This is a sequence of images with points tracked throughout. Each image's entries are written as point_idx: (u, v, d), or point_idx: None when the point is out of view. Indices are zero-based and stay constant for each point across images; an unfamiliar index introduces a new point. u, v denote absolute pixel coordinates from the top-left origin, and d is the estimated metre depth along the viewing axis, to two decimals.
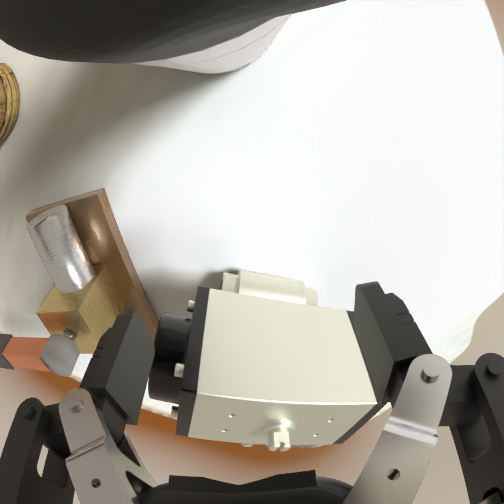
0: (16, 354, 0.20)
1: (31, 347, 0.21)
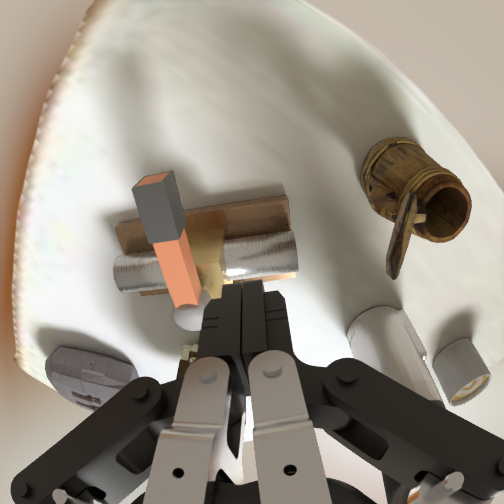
0: (186, 268, 0.23)
1: (194, 278, 0.25)
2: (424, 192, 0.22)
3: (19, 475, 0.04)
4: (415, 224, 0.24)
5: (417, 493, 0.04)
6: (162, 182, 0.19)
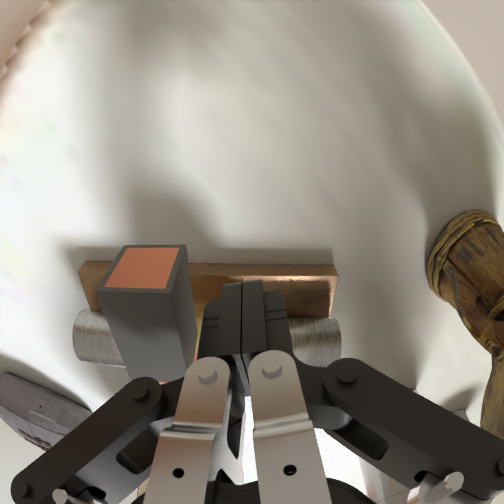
0: None
1: None
2: None
3: (19, 475, 0.04)
4: None
5: (417, 493, 0.04)
6: (167, 294, 0.08)
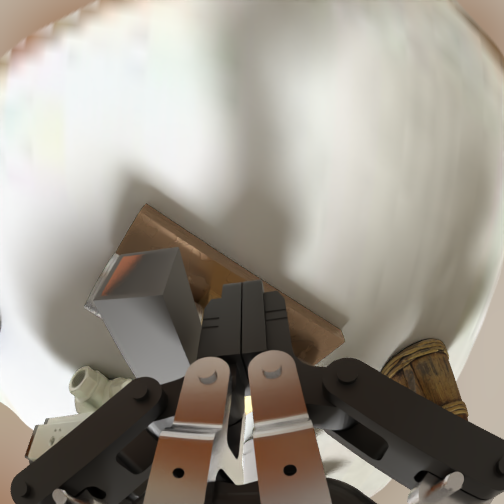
0: None
1: None
2: None
3: (19, 475, 0.04)
4: None
5: (417, 493, 0.04)
6: (160, 296, 0.08)
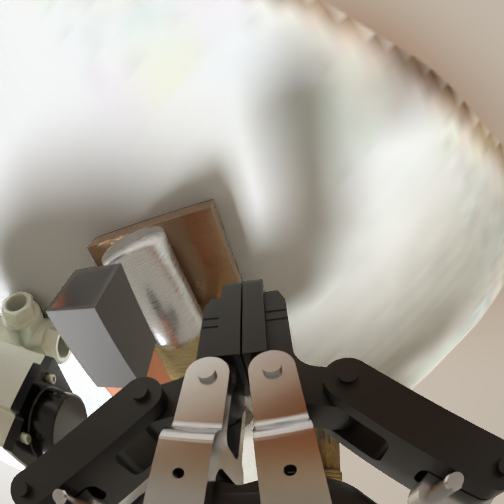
0: None
1: None
2: None
3: (19, 475, 0.04)
4: None
5: (417, 493, 0.04)
6: (93, 309, 0.09)
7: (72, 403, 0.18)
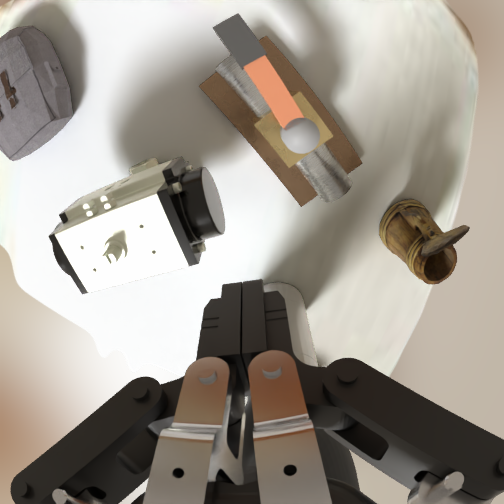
0: None
1: None
2: None
3: (19, 475, 0.04)
4: None
5: (417, 493, 0.04)
6: (237, 14, 0.19)
7: (210, 178, 0.29)
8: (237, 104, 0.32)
